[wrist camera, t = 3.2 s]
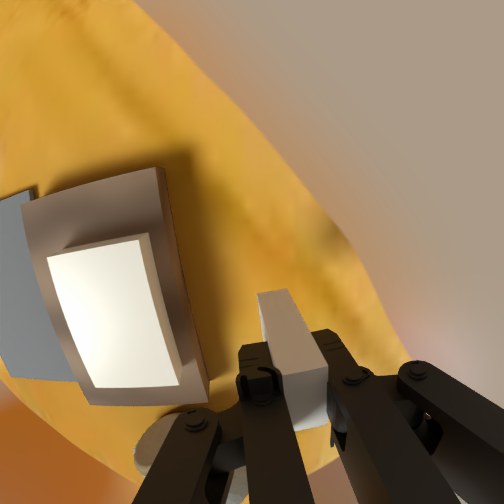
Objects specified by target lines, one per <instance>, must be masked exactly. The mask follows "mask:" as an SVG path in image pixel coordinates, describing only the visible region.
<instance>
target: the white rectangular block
mask: <svg viewBox="0 0 504 504" xmlns="http://www.w3.org/2000/svg"><path fill="white" fill-rule="evenodd" d="M47 261H48V265H49V268H50V272H51V275H52V279H53V282H54V286H55V289H56V292H57V295H58V298H59V301H60V304H61V307H62V310H63V313H64V316H65V319H66V321H67V324H68V327H69V329H70V332H71V334H72V337H73V339H74V342H75V344H76V347H77V349H78V351H79V354H80V356H81V358H82V361H83V363H84V365H85V367H86V369H87V372H88V374H89V376H90V378H91V380H92V382H93V384H94V386H95V388H136V387H160V386H176V385H179V384H180V378H181V373H182V368H183V366H182V363H181V359H180V356H179V353H178V350H177V346H176V343H175V340H174V336H173V333H172V329H171V326H170V322H169V318H168V315H167V311H166V307H165V303H164V299H163V295H162V291H161V287H160V283H159V279H158V275H157V270H156V266H155V262H154V257H153V252H152V248H151V243H150V238H149V233H142V234H137V235H131V236H126V237H121V238H116V239H110V240H105V241H100V242H95V243H90V244H85V245H80V246H75V247H70V248H66V249H62V250H60V251H58V252H56V253H54V254H52V255H50V256H48V257H47Z"/></svg>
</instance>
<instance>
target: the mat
mask: <svg viewBox="0 0 504 504" xmlns="http://www.w3.org/2000/svg"><path fill="white" fill-rule="evenodd" d="M32 200H34V193H33V189H31V190H27V191H24V192H22V193H19V194H16V195H14V196H11V197H9V198H6V199H4V200H1V201H0V356H1V358H2V360H3V362H4V364H5V366H6V368H7V370H8V372H9V374H10V376H11V377H17V378H27V379H38V380H51V381H70V382H78V381H77V379H76V377H75V375H74V373H73V371H72V369H71V367H70V365H69V363H68V361H67V359H66V356H65V354H64V352H63V350H62V347H61V345H60V343H59V340H58V338H57V335H56V333H55V330H54V328H53V325H52V323H51V320H50V317H49V315H48V312H47V309H46V306H45V303H44V300H43V297H42V294H41V291H40V288H39V285H38V281H37V278H36V275H35V271H34V267H33V264H32V260H31V256H30V252H29V248H28V243H27V239H26V234H25V229H24V224H23V219H22V213H21V208H20V205H21V204H24V203H26V202H29V201H32Z"/></svg>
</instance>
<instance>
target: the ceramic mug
mask: <svg viewBox="0 0 504 504" xmlns="http://www.w3.org/2000/svg"><path fill="white" fill-rule="evenodd" d="M179 414H181V413H172V414H169V415H166V416H164V417H162V418H160V419H159V420H158V421H156V422H155V423H153V424H152V425H151V426H150V427H149V428H148V429H147V431H146V432H145V433H144V434H143V436H142V437H141V439H140V440H139V441H138V443H137V444H136V446H135V448H134V450H133V452H134V463H135V466H136V468H137V469H138V471H139V472H140V473H141V474H142V475H143V476H144V477H146V475H147V473H148V471H149V469H150V467H151V465H152V464H153V462H154V460H155V458H156V456H157V454H158V452H159V450H160V448H161V446H162V444H163V442H164V440H165V438H166V436H167V434H168V432H169V430H170V428H171V426H172V424H173V422H174V421H175V419H176V418H177V417H178V415H179ZM248 493H249V492H248V483H247V473H246V466H243V467H240V468H238V469H235V470H234V475H233V479H232V483H231V486H230V490H229V494H228V497H227V501H226V504H240V503H241V502H242V501H243V500H244V499H245V497H246V496H247V495H248Z"/></svg>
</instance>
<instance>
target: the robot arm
mask: <svg viewBox="0 0 504 504" xmlns="http://www.w3.org/2000/svg"><path fill="white" fill-rule="evenodd" d="M257 300H258V307H259V314H260V321H261V328H262V335H263V341H264V342H259V343H253V344H246V345H242V347H241V349H240V350H239V352H238V358H239V371H240V373H239V374H238V375H237V377H236V386H237V390H238V395H239V401H238V402H237V403H236V404H235V405H234V406H233V407H231V408H229V409H227V410H225V411H222V412H220V413H217V414H216V413H214V412H213V411H211V410H210V409H206V408H192V409H189V410H186V411H184V412H183V413H181V414H179V415H178V417H177V418H176V419H175V421H174V422H173V424H172V426H171V428H170V430H169V432H168V434H167V436H166V438H165V440H164V442H163V444H162V446H161V448H160V450H159V452H158V454H157V456H156V458H155V460H154V462H153V464H152V465H151V467H150V469H149V471H148V473H147V475H146V477H145V479H144V481H143V483H142V485H141V487H140V489H139V491H138V493H137V495H136V497H135V498H134V501H133V502H132V504H226V501H227V497H228V494H229V490H230V486H231V483H232V479H233V475H234V470H235V469H238V468H240V467H243V466H246V473H247V483H248V492H249V502H250V504H315V503H314V499H313V495H312V492H311V488H310V485H309V481H308V478H307V474H306V471H305V467H304V464H303V460H302V456H301V453H300V449H299V446H298V442H297V439H296V435H295V431H300V430H304V429H309V428H313V427H318V426H322V425H326V424H327V417H329V419H330V422H331V438H330V446H331V447H334V443H335V445H336V448H337V450H338V453H339V455H340V458H341V460H342V462H343V465H344V468H345V470H346V473H347V475H348V478H349V480H350V483H351V485H352V488H353V491H354V493H355V495H356V498H357V501H358V503H359V504H461V503H460V501H459V499H458V498H457V496H456V495H455V493H456V494H457V495H458V496H460V497H461V498H462V499H463V500H464V501H465V502H467V503H468V504H504V409H502V408H501V407H499V406H498V405H496V404H494V403H493V402H491V401H489V400H488V399H486V398H485V397H483V396H482V395H480V394H478V393H477V392H475V391H474V390H472V389H470V388H469V387H467V386H466V385H464V384H462V383H461V382H459V381H457V380H456V379H454V378H453V377H451V376H450V375H448V374H446V373H445V372H443V371H442V370H440V369H438V368H437V367H435V366H433V365H432V364H430V363H427V362H425V361H419V360H416V361H410V362H407V363H404V364H403V365H402V366H401V367H400V369H399V371H398V375H387V376H376V375H374V374H373V372H371V371H370V370H369V369H368V368H365V367H362V366H358V364H357V363H356V361H355V360H354V358H353V357H352V355H351V354H350V353H349V351H348V350H347V348H346V347H345V345H344V344H343V342H341V339H340V338H339V336H338V335H337V334H336V333H335V332H333V331H331V330H329V329H324V330H319V331H314V332H310V331H309V329H308V327H307V325H306V323H305V321H304V319H303V318H302V316H301V314H300V312H299V310H298V308H297V306H296V305H295V303H294V301H293V299H292V297H291V295H290V294H289V292H288V290H287V289H282V290H276V291H270V292H264V293H258V294H257ZM426 413H427V414H428V415H430V416H428V415H427V414H426ZM453 491H454V492H455V493H454V492H453Z"/></svg>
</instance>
